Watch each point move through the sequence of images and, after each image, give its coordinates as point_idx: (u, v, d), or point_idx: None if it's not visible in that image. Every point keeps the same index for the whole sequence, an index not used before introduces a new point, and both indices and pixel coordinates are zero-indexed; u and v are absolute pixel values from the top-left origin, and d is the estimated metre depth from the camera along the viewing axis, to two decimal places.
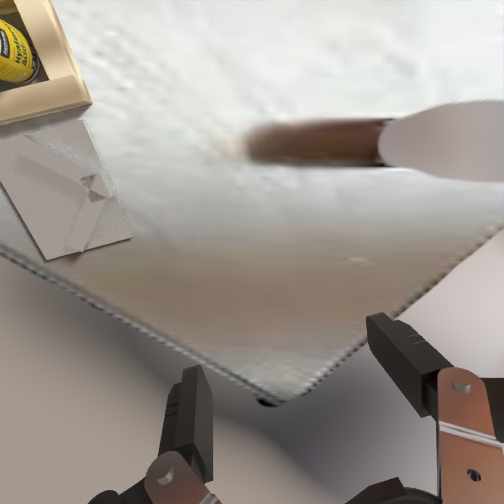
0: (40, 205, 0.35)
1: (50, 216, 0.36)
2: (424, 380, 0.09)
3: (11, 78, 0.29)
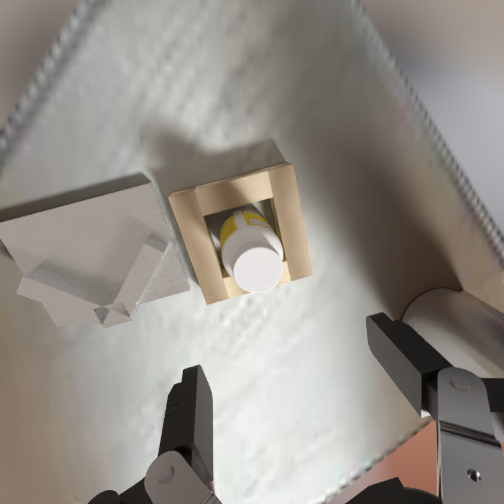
0: (80, 233, 0.27)
1: (66, 241, 0.27)
2: (424, 380, 0.09)
3: None
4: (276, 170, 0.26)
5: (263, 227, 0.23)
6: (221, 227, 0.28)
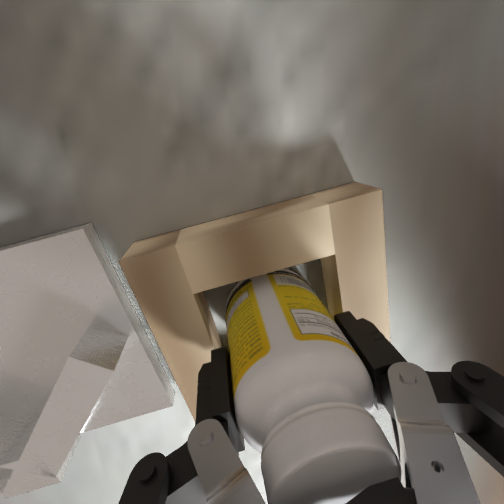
0: None
1: None
2: (378, 374, 0.10)
3: None
4: (345, 202, 0.12)
5: (333, 345, 0.10)
6: (229, 307, 0.15)
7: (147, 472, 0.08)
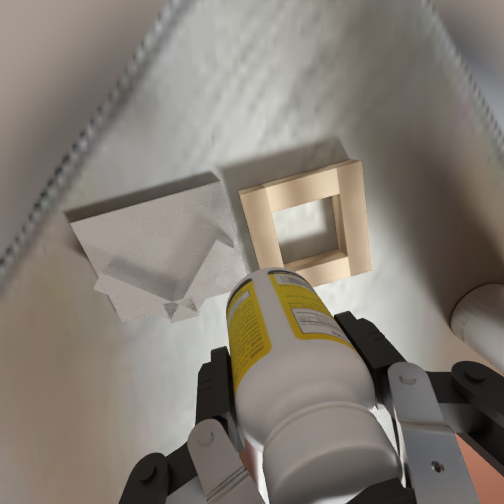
0: (151, 230, 0.28)
1: (137, 238, 0.28)
2: (378, 374, 0.10)
3: None
4: (344, 167, 0.27)
5: (334, 345, 0.10)
6: (230, 307, 0.15)
7: (147, 472, 0.08)
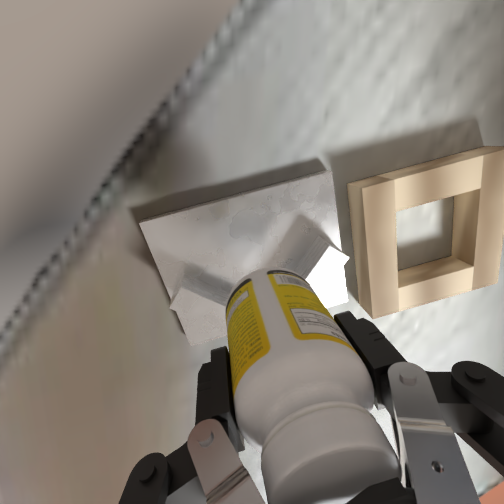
0: (239, 232, 0.22)
1: (221, 243, 0.22)
2: (378, 374, 0.10)
3: None
4: (492, 154, 0.21)
5: (333, 345, 0.10)
6: (229, 307, 0.15)
7: (147, 472, 0.08)
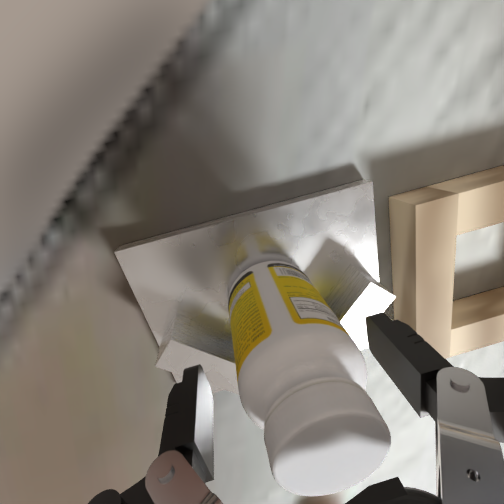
0: (249, 262, 0.17)
1: (225, 276, 0.17)
2: (423, 380, 0.09)
3: None
4: None
5: (329, 328, 0.11)
6: (232, 298, 0.15)
7: None
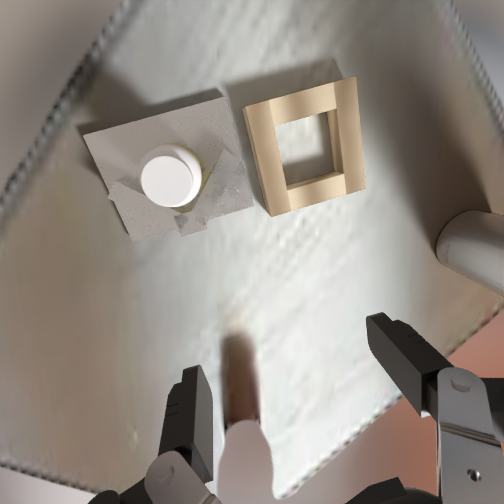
0: None
1: None
2: (424, 380, 0.09)
3: None
4: (340, 81, 0.29)
5: (177, 146, 0.24)
6: None
7: None
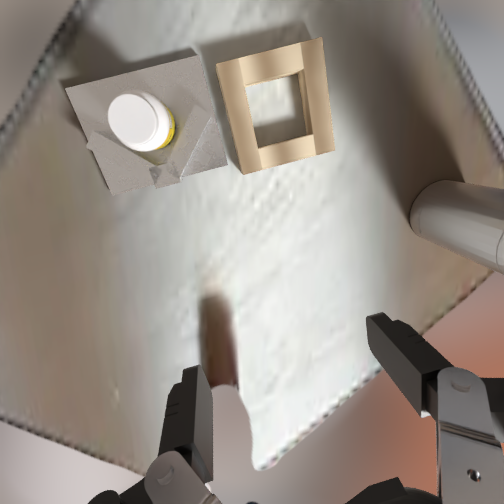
0: None
1: None
2: (424, 380, 0.09)
3: None
4: (307, 42, 0.30)
5: None
6: None
7: None
